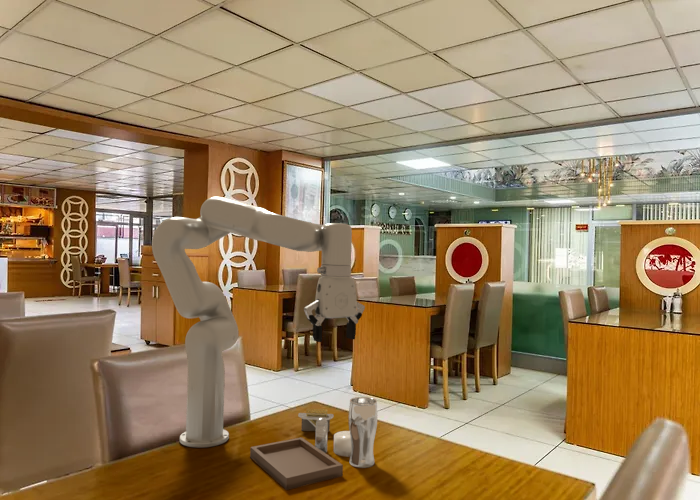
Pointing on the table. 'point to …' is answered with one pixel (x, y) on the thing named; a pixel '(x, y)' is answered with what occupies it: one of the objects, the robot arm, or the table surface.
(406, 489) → the table surface
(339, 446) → the white rounded cylinder
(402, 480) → the table surface
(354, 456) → the silver metal tumbler
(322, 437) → the salt shaker
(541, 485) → the table surface
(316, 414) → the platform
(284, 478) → the tray
